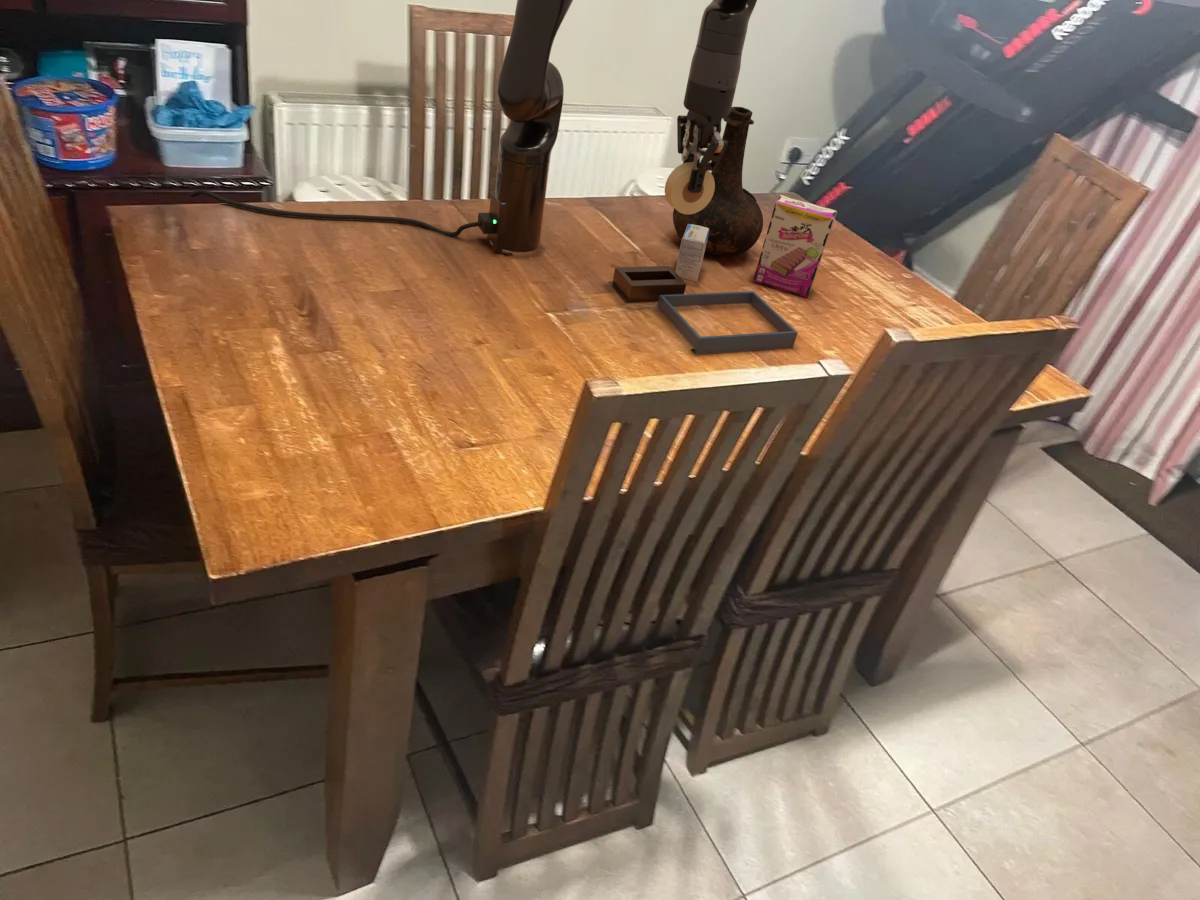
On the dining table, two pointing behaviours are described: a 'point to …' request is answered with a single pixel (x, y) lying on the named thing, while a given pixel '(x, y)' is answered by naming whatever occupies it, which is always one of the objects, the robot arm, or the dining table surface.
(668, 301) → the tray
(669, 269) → the holder
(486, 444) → the dining table surface
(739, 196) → the glass bottle
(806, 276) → the candy bar box
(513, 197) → the robot arm
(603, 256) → the dining table surface
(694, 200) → the tape roll
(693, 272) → the medicine box
